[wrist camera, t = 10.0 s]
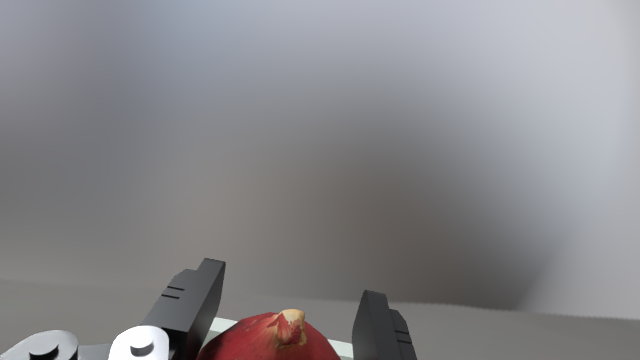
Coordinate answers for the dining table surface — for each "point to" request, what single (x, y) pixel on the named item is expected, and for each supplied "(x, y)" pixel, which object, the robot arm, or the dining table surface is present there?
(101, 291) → the dining table surface
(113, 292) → the dining table surface
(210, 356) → the onion
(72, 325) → the dining table surface
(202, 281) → the robot arm
